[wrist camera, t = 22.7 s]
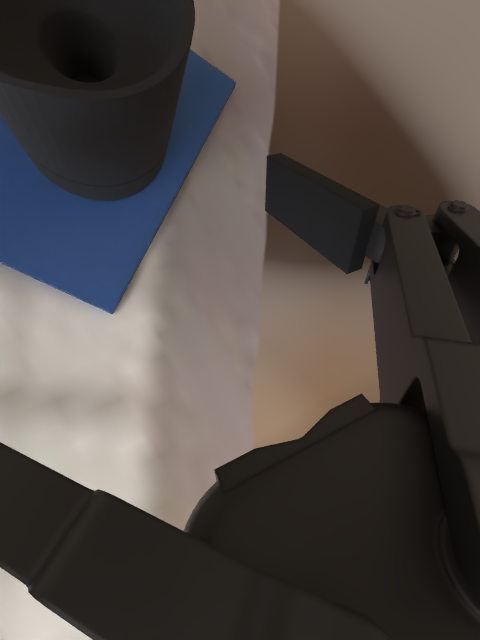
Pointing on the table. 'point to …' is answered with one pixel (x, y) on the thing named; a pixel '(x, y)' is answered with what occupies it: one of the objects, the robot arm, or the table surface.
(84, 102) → the pen holder
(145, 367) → the table surface
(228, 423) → the table surface
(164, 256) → the table surface
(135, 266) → the blue cloth
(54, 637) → the table surface
